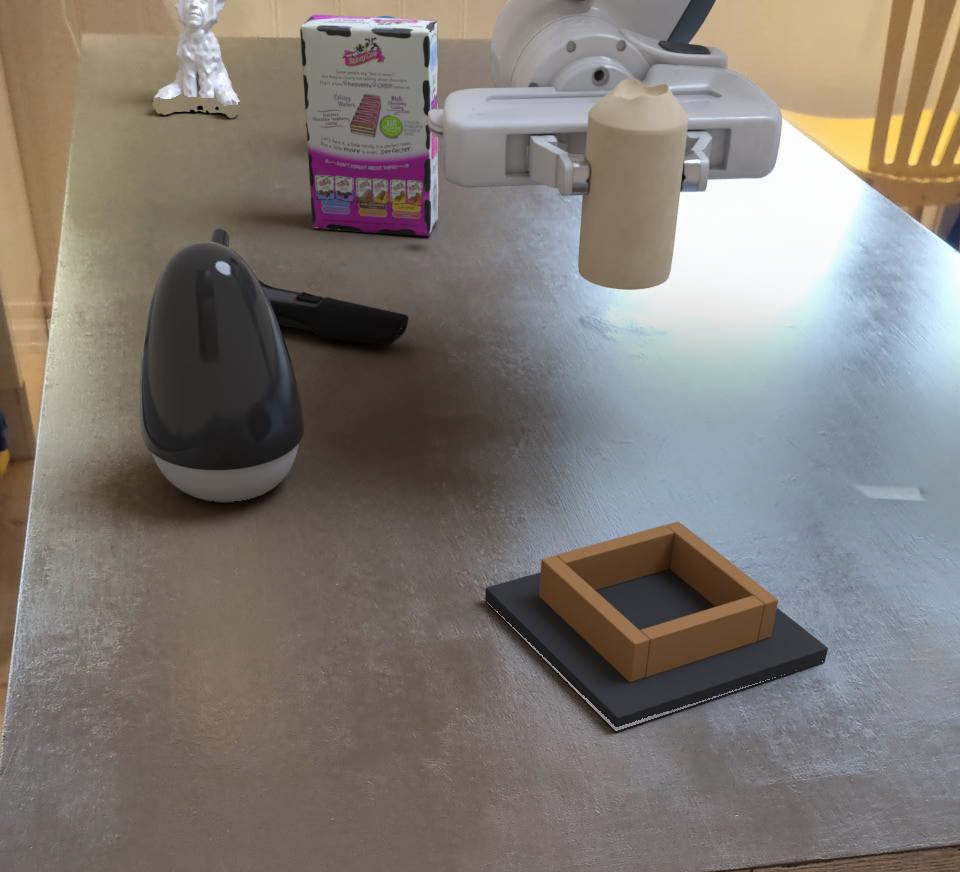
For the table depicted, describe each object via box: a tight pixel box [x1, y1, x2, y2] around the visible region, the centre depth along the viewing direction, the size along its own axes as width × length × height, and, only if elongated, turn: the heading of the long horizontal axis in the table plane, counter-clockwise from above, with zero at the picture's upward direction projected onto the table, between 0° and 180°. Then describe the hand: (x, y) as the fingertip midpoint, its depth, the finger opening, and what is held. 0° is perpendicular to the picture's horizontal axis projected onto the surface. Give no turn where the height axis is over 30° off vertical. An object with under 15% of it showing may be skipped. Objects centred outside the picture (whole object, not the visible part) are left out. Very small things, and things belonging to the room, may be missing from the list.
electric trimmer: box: [258, 279, 410, 345], centre depth 107 cm, size 4×16×3 cm, turn 66°
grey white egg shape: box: [139, 228, 305, 503], centre depth 85 cm, size 10×10×15 cm
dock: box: [484, 521, 829, 733], centre depth 77 cm, size 14×14×4 cm
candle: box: [577, 78, 688, 291], centre depth 78 cm, size 6×6×10 cm
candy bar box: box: [299, 14, 440, 237], centre depth 120 cm, size 11×5×16 cm, turn 82°
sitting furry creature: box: [153, 0, 241, 106], centre depth 148 cm, size 10×9×12 cm
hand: (637, 179), depth 77 cm, fingers closed on candle, 5 cm apart
